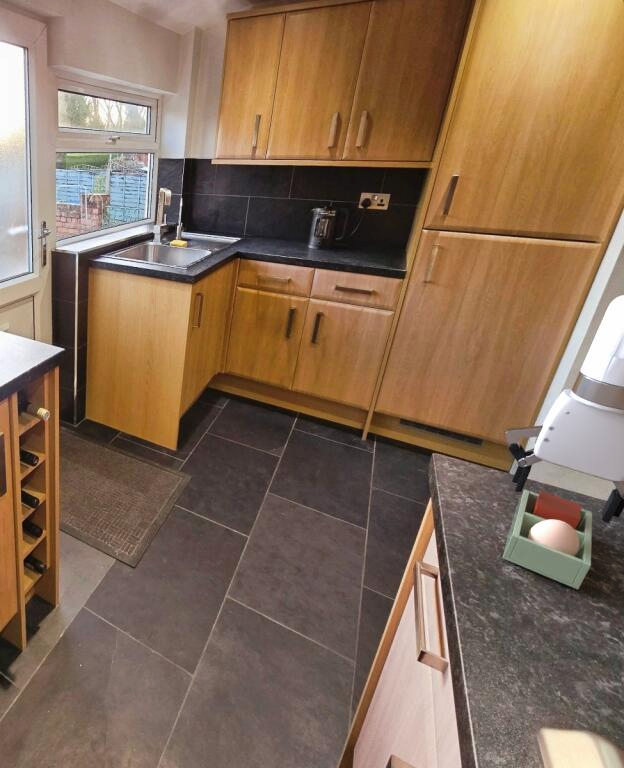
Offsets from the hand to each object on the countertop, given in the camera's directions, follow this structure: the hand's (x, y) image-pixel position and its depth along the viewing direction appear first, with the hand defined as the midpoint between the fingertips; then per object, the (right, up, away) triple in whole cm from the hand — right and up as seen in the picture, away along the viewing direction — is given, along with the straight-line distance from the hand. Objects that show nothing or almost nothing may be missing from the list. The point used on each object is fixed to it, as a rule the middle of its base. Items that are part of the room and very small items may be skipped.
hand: (560, 502), depth 70 cm
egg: (-5, -7, -3) cm, 9 cm away
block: (0, -5, +2) cm, 5 cm away
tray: (-3, -6, 0) cm, 7 cm away
